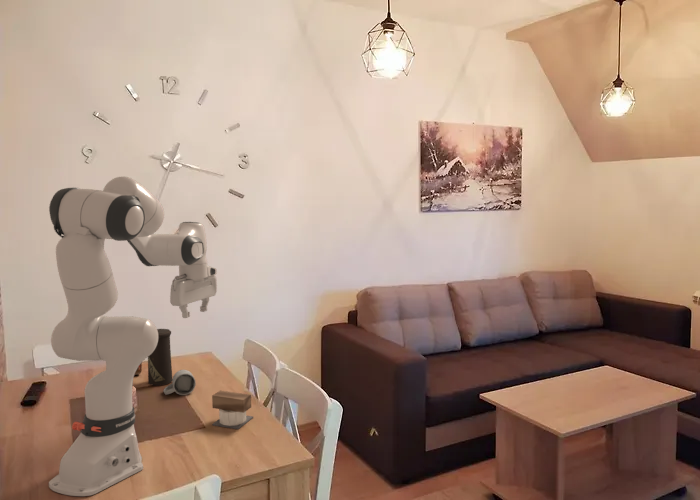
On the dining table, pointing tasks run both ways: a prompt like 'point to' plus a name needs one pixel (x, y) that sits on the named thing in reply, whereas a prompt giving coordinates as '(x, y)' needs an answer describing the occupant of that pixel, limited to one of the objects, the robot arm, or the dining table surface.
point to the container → (160, 360)
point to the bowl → (231, 417)
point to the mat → (233, 425)
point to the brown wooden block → (231, 401)
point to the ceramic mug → (181, 383)
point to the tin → (138, 369)
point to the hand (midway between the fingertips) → (195, 314)
